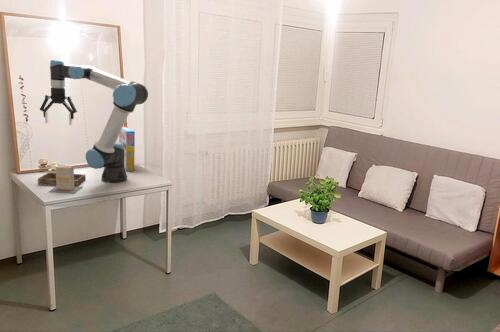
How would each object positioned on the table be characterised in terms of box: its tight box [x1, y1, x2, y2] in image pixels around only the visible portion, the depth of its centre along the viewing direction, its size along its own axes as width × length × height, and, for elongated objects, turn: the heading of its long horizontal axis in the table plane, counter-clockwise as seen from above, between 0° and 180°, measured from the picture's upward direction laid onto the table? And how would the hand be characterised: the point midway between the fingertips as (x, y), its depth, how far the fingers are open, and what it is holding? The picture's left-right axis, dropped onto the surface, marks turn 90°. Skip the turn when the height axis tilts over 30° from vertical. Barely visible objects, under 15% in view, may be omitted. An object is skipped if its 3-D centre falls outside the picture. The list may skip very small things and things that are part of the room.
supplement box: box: [55, 164, 75, 191], centre depth 235 cm, size 8×5×13 cm, turn 85°
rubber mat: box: [48, 185, 83, 195], centre depth 237 cm, size 14×12×1 cm
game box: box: [118, 126, 136, 172], centre depth 290 cm, size 21×6×27 cm, turn 30°
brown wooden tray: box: [37, 172, 87, 187], centre depth 250 cm, size 22×14×4 cm, turn 93°
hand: (58, 123), depth 252 cm, fingers open, 13 cm apart
